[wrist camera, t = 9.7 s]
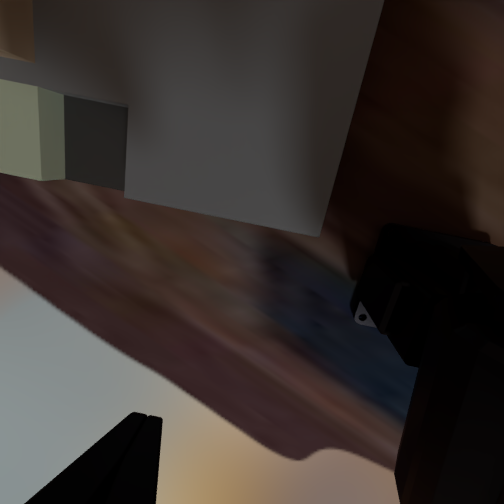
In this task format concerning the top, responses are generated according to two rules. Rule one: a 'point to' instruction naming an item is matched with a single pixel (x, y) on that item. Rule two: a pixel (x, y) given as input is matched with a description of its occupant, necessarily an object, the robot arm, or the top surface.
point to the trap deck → (191, 102)
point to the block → (17, 30)
